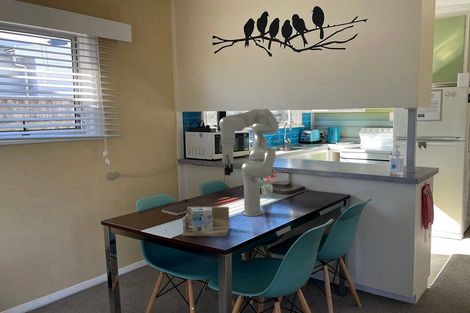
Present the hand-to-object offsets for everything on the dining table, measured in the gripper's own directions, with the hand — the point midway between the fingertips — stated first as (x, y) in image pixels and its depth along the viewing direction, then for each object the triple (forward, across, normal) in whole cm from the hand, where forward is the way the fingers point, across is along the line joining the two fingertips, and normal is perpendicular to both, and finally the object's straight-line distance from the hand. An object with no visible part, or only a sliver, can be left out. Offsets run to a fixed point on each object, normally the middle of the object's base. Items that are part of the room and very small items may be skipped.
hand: (228, 173), depth 220 cm
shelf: (+28, +12, -11) cm, 33 cm away
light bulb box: (+27, +13, -13) cm, 32 cm away
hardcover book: (+29, -35, -35) cm, 57 cm away
